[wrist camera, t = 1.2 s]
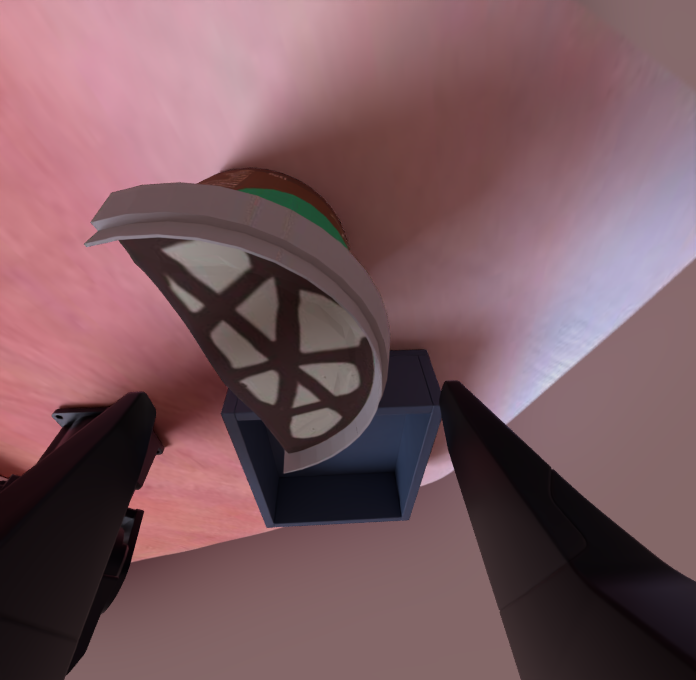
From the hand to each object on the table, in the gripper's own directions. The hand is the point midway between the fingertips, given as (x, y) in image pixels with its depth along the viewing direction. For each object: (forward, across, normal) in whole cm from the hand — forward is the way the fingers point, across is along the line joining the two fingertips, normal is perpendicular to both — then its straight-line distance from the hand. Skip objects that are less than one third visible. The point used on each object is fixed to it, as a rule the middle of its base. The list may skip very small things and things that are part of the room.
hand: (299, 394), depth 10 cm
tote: (+11, -1, +17) cm, 20 cm away
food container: (+11, 0, 0) cm, 11 cm away
